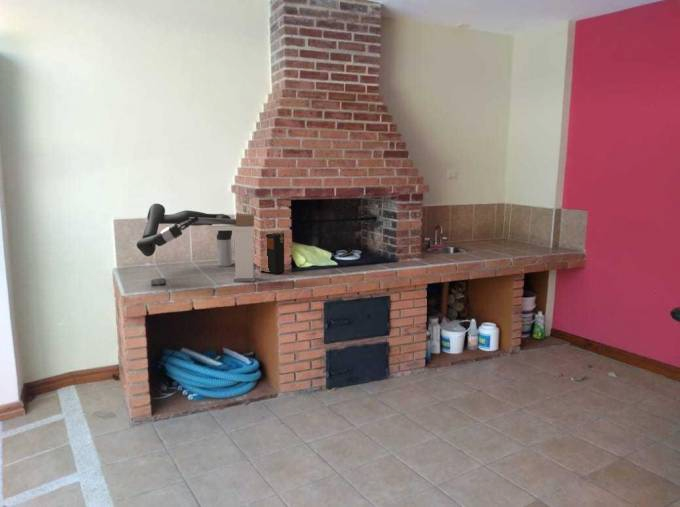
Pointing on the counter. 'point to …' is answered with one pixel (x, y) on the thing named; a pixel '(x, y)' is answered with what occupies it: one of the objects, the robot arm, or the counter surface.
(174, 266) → the counter surface
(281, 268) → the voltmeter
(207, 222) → the carriage
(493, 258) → the counter surface
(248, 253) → the shelf stand
